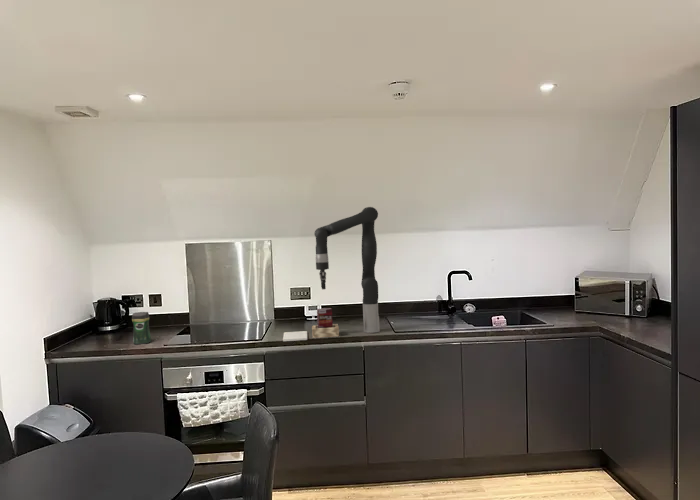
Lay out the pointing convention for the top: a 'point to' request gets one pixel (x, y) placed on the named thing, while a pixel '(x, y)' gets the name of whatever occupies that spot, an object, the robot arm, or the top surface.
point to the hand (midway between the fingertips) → (323, 288)
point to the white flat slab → (295, 336)
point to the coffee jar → (141, 327)
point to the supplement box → (324, 318)
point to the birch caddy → (325, 331)
